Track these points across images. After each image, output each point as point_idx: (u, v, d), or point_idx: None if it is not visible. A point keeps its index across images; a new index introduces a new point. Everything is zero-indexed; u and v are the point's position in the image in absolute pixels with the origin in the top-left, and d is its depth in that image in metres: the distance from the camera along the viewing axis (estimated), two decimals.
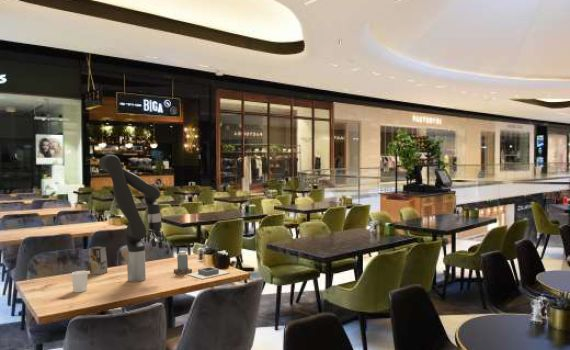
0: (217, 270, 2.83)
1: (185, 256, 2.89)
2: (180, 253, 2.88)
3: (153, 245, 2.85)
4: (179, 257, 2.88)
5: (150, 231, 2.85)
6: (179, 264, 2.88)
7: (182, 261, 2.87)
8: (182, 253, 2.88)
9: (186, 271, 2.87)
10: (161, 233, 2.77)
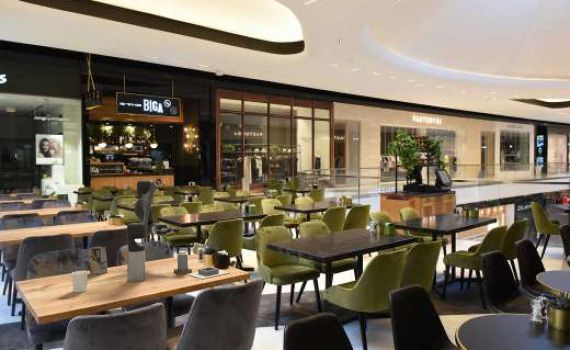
0: (217, 270, 2.83)
1: (185, 256, 2.89)
2: (180, 253, 2.88)
3: None
4: (179, 257, 2.88)
5: None
6: (179, 264, 2.88)
7: (182, 261, 2.87)
8: (182, 253, 2.88)
9: (186, 271, 2.87)
10: None
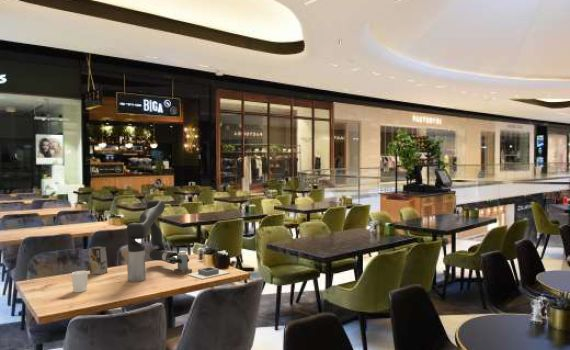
0: (217, 270, 2.83)
1: (185, 256, 2.89)
2: (180, 253, 2.88)
3: None
4: (179, 257, 2.88)
5: None
6: (179, 264, 2.88)
7: (182, 261, 2.87)
8: (182, 253, 2.88)
9: (186, 271, 2.87)
10: None
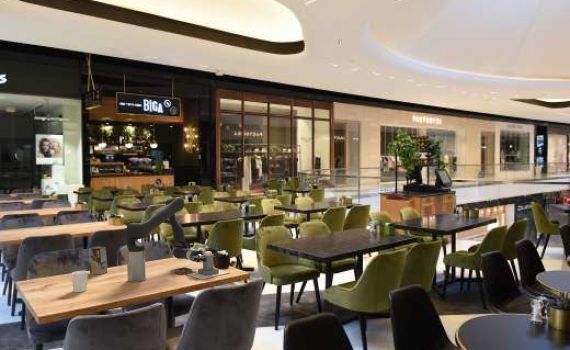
0: (217, 270, 2.83)
1: (211, 257, 2.83)
2: (206, 253, 2.82)
3: None
4: None
5: None
6: (205, 265, 2.83)
7: (208, 262, 2.81)
8: (208, 253, 2.82)
9: (186, 271, 2.87)
10: None
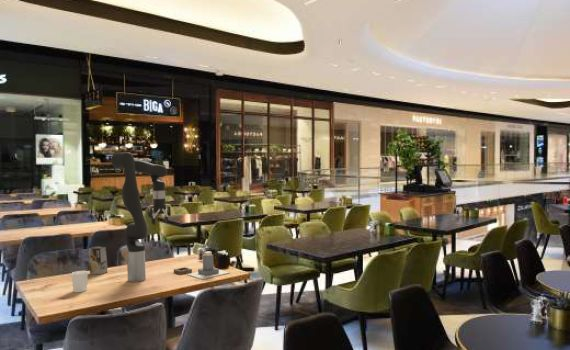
0: (217, 270, 2.83)
1: (211, 257, 2.83)
2: (206, 253, 2.82)
3: None
4: (205, 258, 2.82)
5: None
6: (205, 265, 2.83)
7: (208, 262, 2.81)
8: (208, 253, 2.82)
9: (186, 271, 2.87)
10: None
